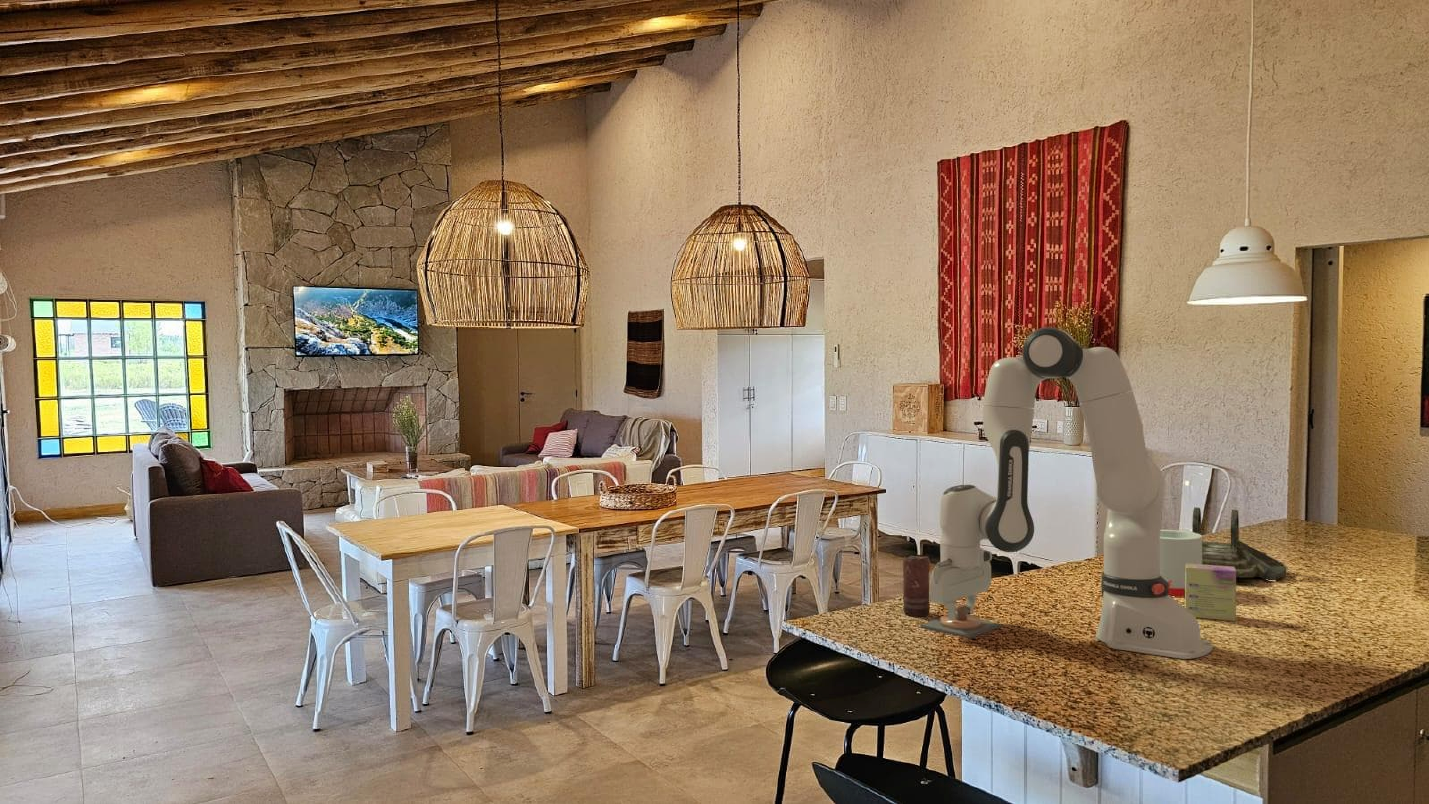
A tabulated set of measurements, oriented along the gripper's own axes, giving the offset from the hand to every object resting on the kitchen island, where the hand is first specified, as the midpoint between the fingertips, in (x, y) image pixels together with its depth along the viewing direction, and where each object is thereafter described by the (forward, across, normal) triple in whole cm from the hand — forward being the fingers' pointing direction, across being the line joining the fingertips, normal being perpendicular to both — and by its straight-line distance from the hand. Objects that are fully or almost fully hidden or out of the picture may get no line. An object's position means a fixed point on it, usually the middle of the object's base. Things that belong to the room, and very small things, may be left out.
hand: (960, 616), depth 216 cm
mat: (+2, 0, 0) cm, 2 cm away
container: (+3, +68, -20) cm, 71 cm away
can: (+3, +3, +14) cm, 15 cm away
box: (+3, +47, -37) cm, 60 cm away
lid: (+2, 0, 0) cm, 2 cm away
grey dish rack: (+3, +100, -20) cm, 102 cm away
